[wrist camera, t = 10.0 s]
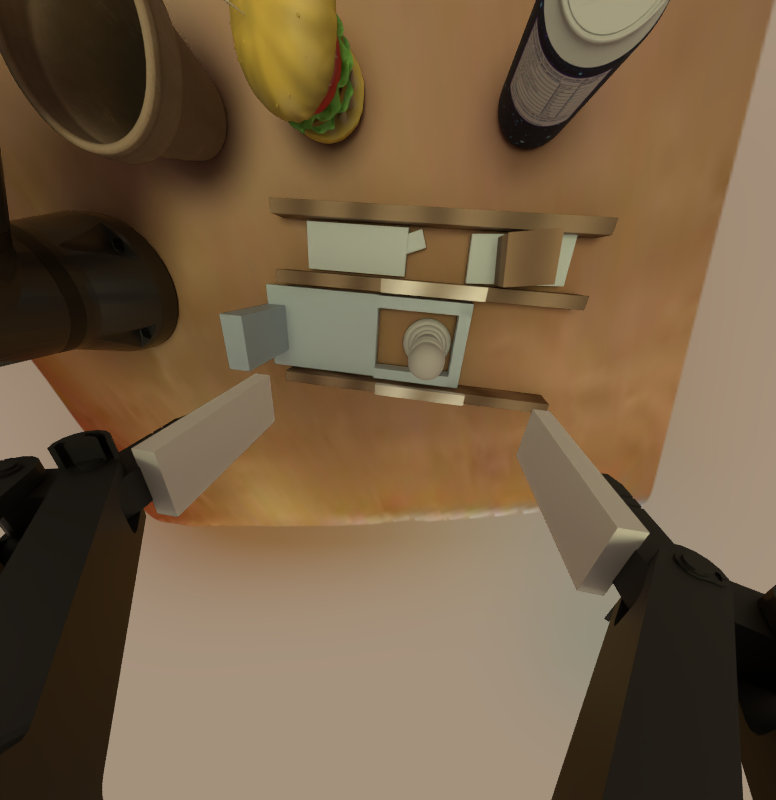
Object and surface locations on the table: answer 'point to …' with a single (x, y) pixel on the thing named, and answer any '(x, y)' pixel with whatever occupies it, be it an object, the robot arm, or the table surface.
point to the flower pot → (113, 78)
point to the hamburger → (300, 64)
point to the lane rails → (433, 286)
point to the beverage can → (568, 61)
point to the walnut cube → (528, 257)
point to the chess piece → (426, 348)
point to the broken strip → (403, 251)
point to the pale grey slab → (332, 332)
